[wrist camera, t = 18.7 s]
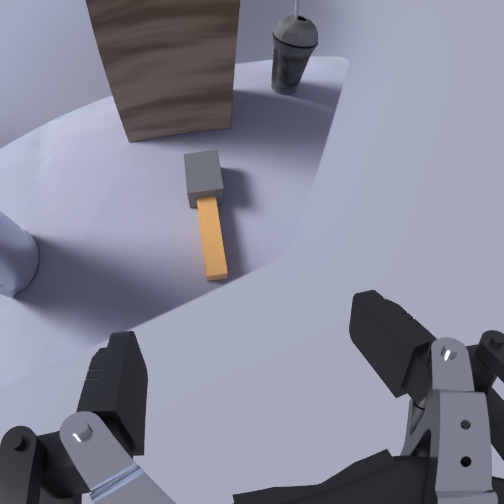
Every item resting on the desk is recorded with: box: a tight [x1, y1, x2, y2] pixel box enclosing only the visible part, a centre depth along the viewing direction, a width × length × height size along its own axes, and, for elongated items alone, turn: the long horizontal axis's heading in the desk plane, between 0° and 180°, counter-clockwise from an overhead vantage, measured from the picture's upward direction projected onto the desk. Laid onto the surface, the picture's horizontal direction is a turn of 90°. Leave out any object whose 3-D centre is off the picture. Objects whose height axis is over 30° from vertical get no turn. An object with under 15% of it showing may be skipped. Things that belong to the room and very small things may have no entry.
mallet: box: [184, 150, 228, 281], centre depth 36 cm, size 16×4×4 cm, turn 10°
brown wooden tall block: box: [86, 0, 240, 142], centre depth 28 cm, size 10×16×33 cm, turn 100°
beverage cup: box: [271, 0, 318, 95], centre depth 39 cm, size 7×7×20 cm
